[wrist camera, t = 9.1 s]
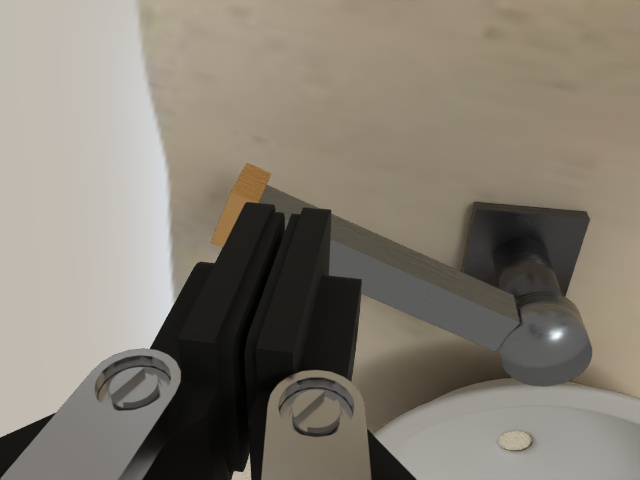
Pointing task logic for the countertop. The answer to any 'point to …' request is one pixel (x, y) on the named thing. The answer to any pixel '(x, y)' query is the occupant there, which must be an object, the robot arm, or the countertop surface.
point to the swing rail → (440, 292)
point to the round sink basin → (519, 415)
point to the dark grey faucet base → (524, 247)
